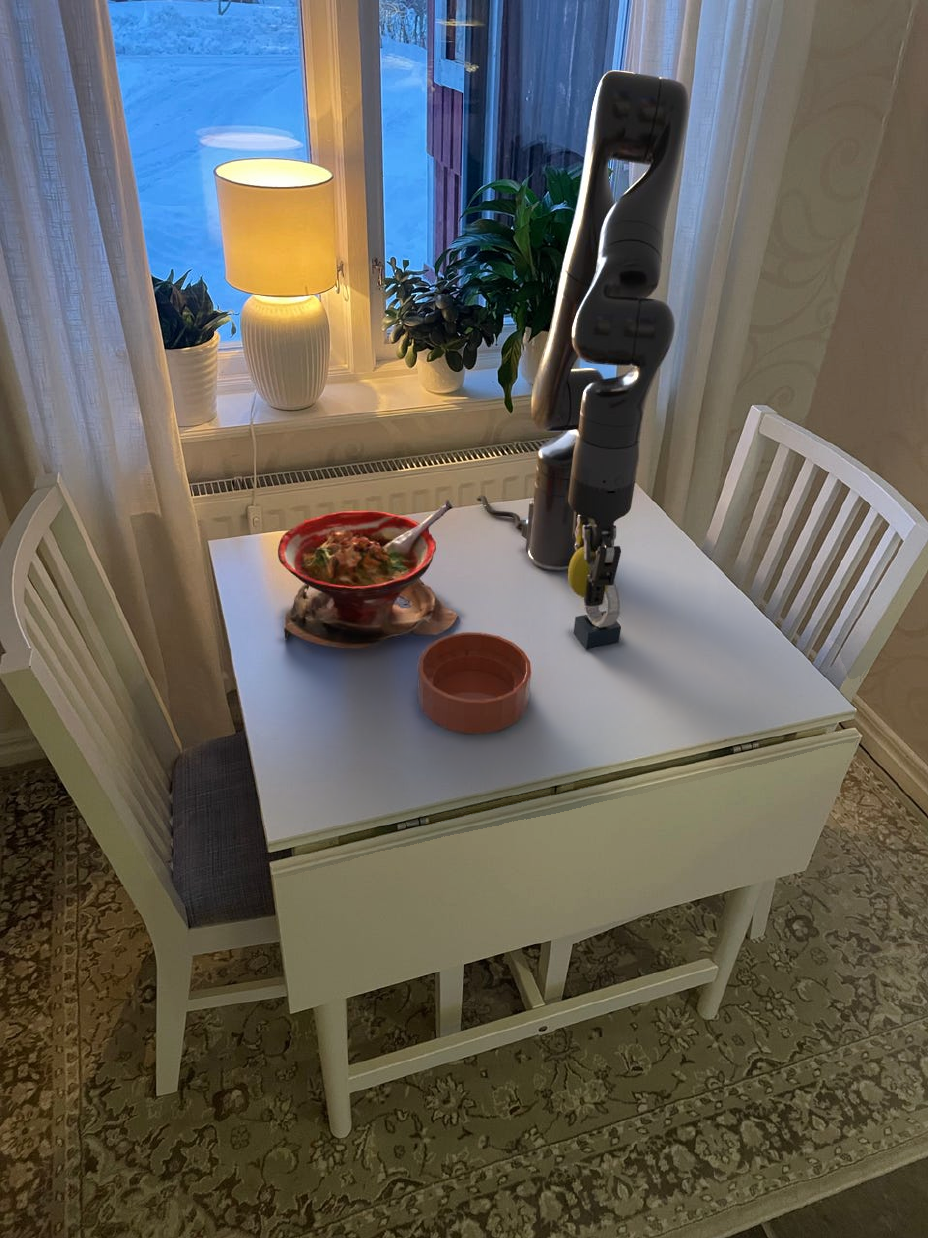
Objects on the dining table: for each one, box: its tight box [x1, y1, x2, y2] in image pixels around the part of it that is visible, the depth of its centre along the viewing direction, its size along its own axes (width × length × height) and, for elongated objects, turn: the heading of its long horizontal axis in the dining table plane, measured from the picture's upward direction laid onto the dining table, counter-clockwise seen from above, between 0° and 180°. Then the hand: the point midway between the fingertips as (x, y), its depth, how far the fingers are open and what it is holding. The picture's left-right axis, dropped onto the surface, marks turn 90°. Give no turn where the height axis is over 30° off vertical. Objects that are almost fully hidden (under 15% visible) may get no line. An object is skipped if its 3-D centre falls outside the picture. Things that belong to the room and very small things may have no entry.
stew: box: [277, 499, 458, 649], centre depth 141 cm, size 28×24×16 cm
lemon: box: [567, 546, 609, 598], centre depth 117 cm, size 6×6×8 cm
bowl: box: [417, 631, 532, 734], centre depth 128 cm, size 15×15×6 cm
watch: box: [572, 580, 622, 651], centre depth 139 cm, size 6×8×11 cm
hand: (587, 589), depth 119 cm, fingers closed on lemon, 5 cm apart
